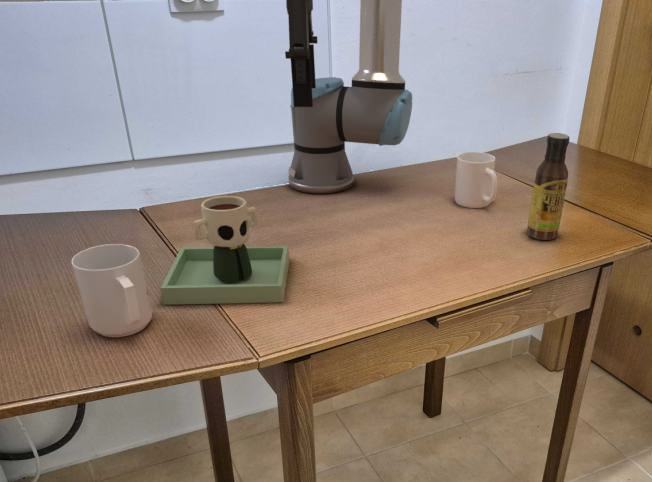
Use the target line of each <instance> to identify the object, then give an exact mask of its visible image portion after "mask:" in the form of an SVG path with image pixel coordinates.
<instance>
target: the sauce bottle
mask: <svg viewBox="0 0 652 482" xmlns="http://www.w3.org/2000/svg"><path fill="white" fill-rule="evenodd" d="M570 138H571V136H570V135H568V134H565V133H562V132H551V133H548V134H547V139H546V150H545V155H544V159H543V161H542V162H541V163H540V165H539V166H538V167H537V168H536V173H535V179H534V181H533V188H532V195H531V201H530V208H529V215H528V219H527V229H526V233H527V235H528V236H529V237H531V238H533V239H536V240H540V241H550V240H553V239H556V238H557V237H558V231H559V229H560V225H561V219H562V213H563V209H564V203H565V197H566V193H567V188H568V181H569V179H568V178H569V170H568V167H567V165H566V163H565V162H566V154H567V149H568V145H569V144H570Z"/></svg>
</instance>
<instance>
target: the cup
mask: <svg viewBox="0 0 652 482" xmlns="http://www.w3.org/2000/svg"><path fill="white" fill-rule="evenodd" d="M495 167H496V156H494V155H492V154H491V153H486V152H481V151H467V152H462V153H459V154H458V155H457V156H456V167H455V168H456V169H455V185H454V202H455V203H456V204H457V205H458V206H460V207H463V208H468V209H481V208H486V207H488V206H489V205H490V204H491V203H492V202H494V201H495V199H496V197H497V194H498V193H497V191H498V177H497V174H496V172H495Z"/></svg>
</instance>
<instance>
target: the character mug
mask: <svg viewBox="0 0 652 482" xmlns="http://www.w3.org/2000/svg"><path fill="white" fill-rule="evenodd" d="M200 211H201V217H202V218H198V219H196V220H194V221H193V224H192V225H193V232H194V237H195V239H196V240H197V241H201V240H206V241H207V242H208V244H209V245H212V246H213V247H214V249H213V271H214V275H215V277H216V278H218V279H219V280H221V281H225V282H237V281H240V280H239V276H240V275H242V274H243V275H244V279H247V278H248V277H250V276H251V274H252V268H251V263H250V259H249V255H248V252H247V248H246V247H247V246H246V245H245V244H246V243H247V242H248V240H249V239H250V236H251V228H252V227H256V226H257V225H258V212H257V209H256V207H255V206H251V207H248V203H247V201H246V200H245V198H243V197H240V196H236V195H219V196H218V195H217V196H213V197H209V198H206V199H205V200H202V202H201V203H200ZM249 215H250V217H251V220H250V217H249ZM201 226H203V230H204V232H202V233H201Z"/></svg>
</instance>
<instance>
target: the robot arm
mask: <svg viewBox="0 0 652 482" xmlns="http://www.w3.org/2000/svg"><path fill="white" fill-rule="evenodd" d="M285 2H286V4H285V6H286V13H287V15H288V17H287V18H288V39H289V41H288V43H289V46H288V51H285V53H284V55H285V59H287V60H288V59H289V60H290V69H291V70H290V71H291V84H292V86H291V90H290V105H289V106H290V109H291V111H290V112H291V122H292V123H291V124H292V136H293V137H292V138H293V149H294V151H293V156H292V161H291V164H290V166H289V167H288V185H289V187H290V188H291V189H293V190H295V191H297V192H301V193H306V194H317V195H318V194H319V195H321V194H323V195H324V194H333V193H334V194H335V193H340V192H343V191H346V190H348V189H351V187H353V185H354V173H353V170H352V166H351V164H350V161H349V158H348V155H347V153H346V143H356V144H369V145H378V146H380V147H381V146H397V145H400V144H401V143H402V142H403V140H404V139H405V137H406V134H407V133H408V129H409V125H410V121H411V117H412V110H413V93H412V92H411V91H410V90H409V89H406V80H405V78H404V77H403V76H402V75H401V73H400V53H401V52H400V49H401V32H402V31H401V30H402V29H401V28H402V9H403V0H360V2H359V3H360V5H359V6H360V7H359V9H360V10H359V46H358V47H359V49H358V50H359V55H358V70H357V72H356V73H355V74H354V75H353V76H352V77H351V86H344V85H345V82H344V80H343V78H342V77H335V76H333V77H330V76H329V77H319V78H316V65H315V46H314V44H318V36H317V35H316V36H315V35H314V32H315V31H313V17H312V11H314V0H285Z"/></svg>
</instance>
